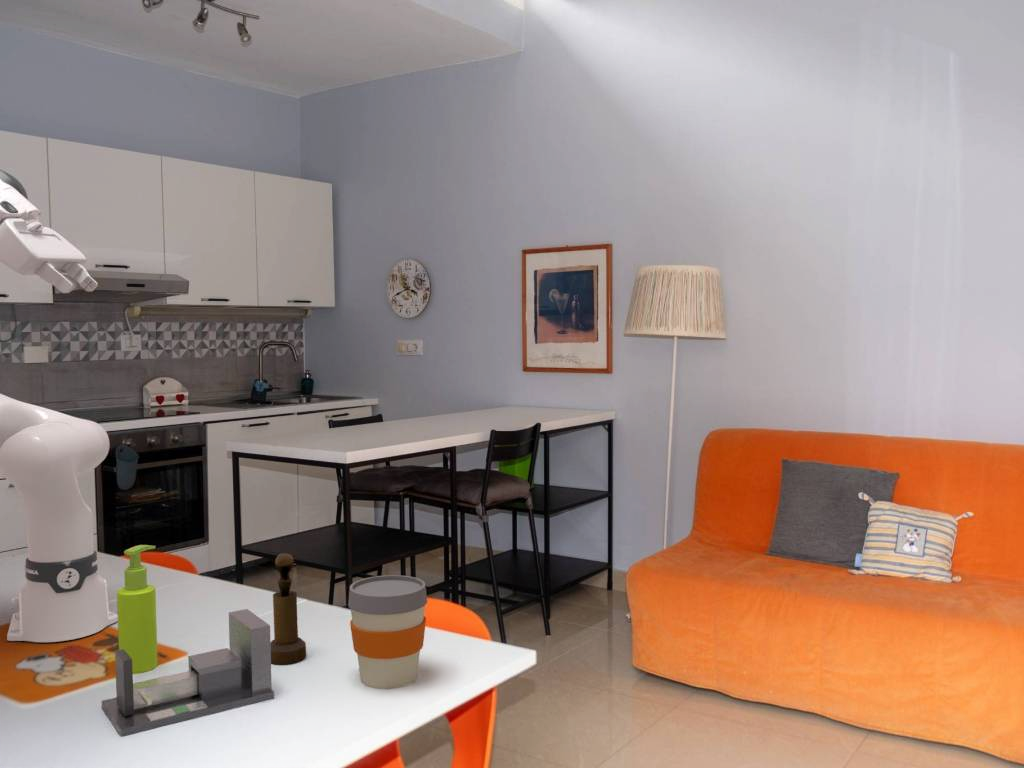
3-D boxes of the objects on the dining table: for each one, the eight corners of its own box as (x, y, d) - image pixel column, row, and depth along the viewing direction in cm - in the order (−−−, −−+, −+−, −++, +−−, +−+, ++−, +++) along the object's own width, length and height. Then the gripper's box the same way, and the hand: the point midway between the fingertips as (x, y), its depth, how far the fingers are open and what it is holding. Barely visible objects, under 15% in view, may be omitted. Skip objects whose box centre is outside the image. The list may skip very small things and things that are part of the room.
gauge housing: (101, 707, 137) (99, 634, 137) (246, 673, 150) (245, 607, 149) (120, 736, 128) (118, 658, 127) (274, 698, 140) (272, 627, 140)
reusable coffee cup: (394, 699, 140) (393, 601, 139) (332, 682, 146) (331, 589, 145) (443, 672, 150) (442, 581, 149) (384, 657, 157) (382, 571, 156)
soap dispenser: (169, 660, 156) (165, 544, 155) (140, 675, 150) (136, 553, 148) (141, 656, 158) (137, 541, 157) (111, 671, 152) (107, 551, 150)
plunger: (116, 704, 135) (115, 650, 135) (194, 686, 142) (192, 635, 141) (130, 723, 129) (128, 667, 128) (211, 704, 135) (209, 650, 135)
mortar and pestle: (270, 651, 160) (268, 549, 159) (308, 650, 161) (306, 548, 160) (263, 665, 154) (261, 559, 152) (303, 664, 154) (301, 558, 153)
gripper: (24, 241, 147) (92, 302, 149) (-40, 237, 126) (40, 307, 128) (51, 212, 146) (119, 273, 149) (-9, 203, 126) (71, 274, 128)
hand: (82, 289), depth 138 cm, fingers open, 8 cm apart
